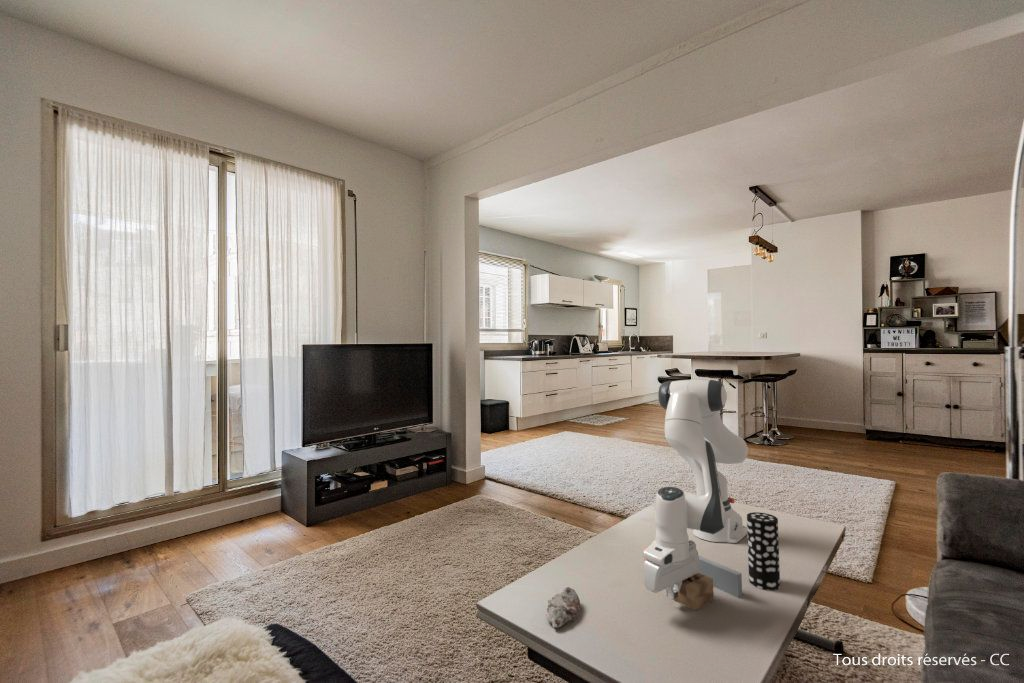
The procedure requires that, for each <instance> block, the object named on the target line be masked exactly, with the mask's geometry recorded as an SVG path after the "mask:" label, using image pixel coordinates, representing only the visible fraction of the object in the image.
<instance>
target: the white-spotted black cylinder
mask: <svg viewBox="0 0 1024 683" xmlns="http://www.w3.org/2000/svg"><path fill="white" fill-rule="evenodd" d="M746 527H747V555H748V556H747V557H748V558H747V560H748V561H747V562H748V564H747V565H748V582H749V583H750V584H751V585H752V586H753V587H755V588H758V589H761V590H764V591H776V590H780V588H781V575H780V574H781V571H780V546H779V545H780V542H779V519H778V517H777V516H775V515H773V514H770V513H765V512H755V511H754V512H749V513H747V514H746Z"/></svg>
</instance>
